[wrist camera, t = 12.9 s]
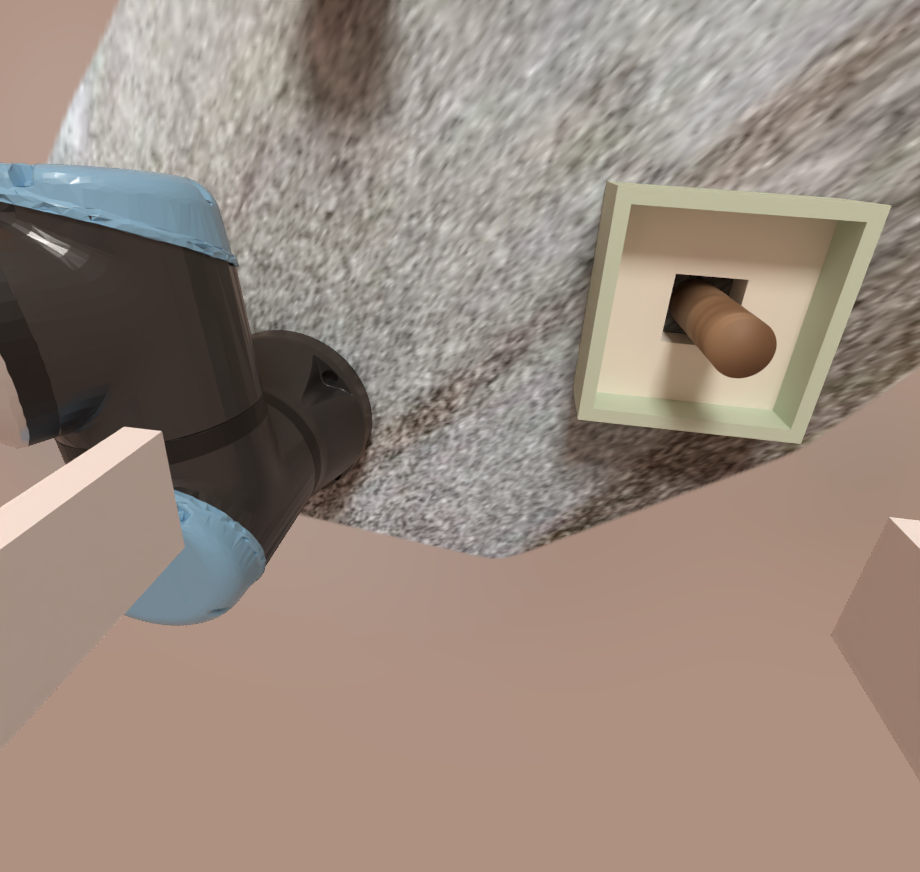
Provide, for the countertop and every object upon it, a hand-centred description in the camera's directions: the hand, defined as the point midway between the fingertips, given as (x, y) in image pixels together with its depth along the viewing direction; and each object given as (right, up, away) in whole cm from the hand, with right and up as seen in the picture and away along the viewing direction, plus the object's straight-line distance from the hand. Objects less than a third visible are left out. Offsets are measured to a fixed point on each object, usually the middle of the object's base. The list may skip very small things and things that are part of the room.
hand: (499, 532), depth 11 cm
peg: (+17, +12, +33) cm, 39 cm away
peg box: (+17, +12, +33) cm, 39 cm away
